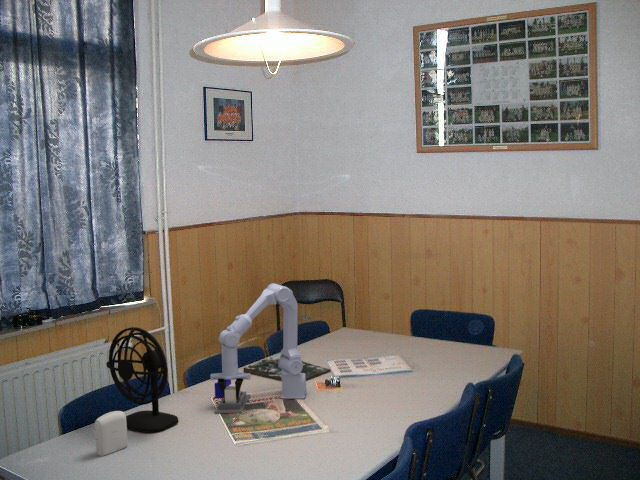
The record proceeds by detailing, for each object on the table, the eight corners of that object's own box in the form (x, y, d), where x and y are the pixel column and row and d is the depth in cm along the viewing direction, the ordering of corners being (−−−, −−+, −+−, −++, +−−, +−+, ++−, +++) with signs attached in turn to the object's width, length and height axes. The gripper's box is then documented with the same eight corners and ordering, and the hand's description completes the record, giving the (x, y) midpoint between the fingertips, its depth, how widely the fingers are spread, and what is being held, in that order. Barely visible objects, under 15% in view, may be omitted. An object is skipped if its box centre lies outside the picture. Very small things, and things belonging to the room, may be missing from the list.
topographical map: (296, 386, 293) (296, 379, 292) (239, 373, 313) (239, 366, 313) (335, 371, 313) (335, 364, 312) (279, 359, 333) (279, 353, 333)
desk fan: (99, 426, 252) (93, 327, 248) (136, 410, 266) (131, 317, 263) (157, 439, 238) (151, 335, 234) (192, 422, 252) (188, 324, 249)
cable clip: (220, 389, 290) (220, 374, 290) (231, 389, 290) (230, 374, 289) (211, 398, 279) (210, 383, 278) (222, 399, 278) (222, 383, 277)
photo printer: (102, 457, 224) (99, 418, 223) (94, 454, 227) (92, 416, 226) (130, 447, 232) (128, 409, 231) (122, 444, 235) (120, 407, 233)
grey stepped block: (250, 395, 280) (249, 380, 280) (242, 413, 260) (241, 397, 260) (224, 395, 281) (224, 380, 280) (214, 413, 261) (213, 397, 260)
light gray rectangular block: (237, 400, 269) (237, 386, 268) (235, 404, 265) (235, 389, 264) (227, 400, 269) (226, 386, 268) (225, 404, 265) (224, 389, 265)
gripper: (208, 365, 262) (209, 402, 263) (247, 365, 261) (249, 401, 262) (212, 360, 269) (213, 395, 270) (250, 360, 268) (252, 395, 269)
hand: (231, 398), depth 267 cm, fingers closed on light gray rectangular block, 4 cm apart
